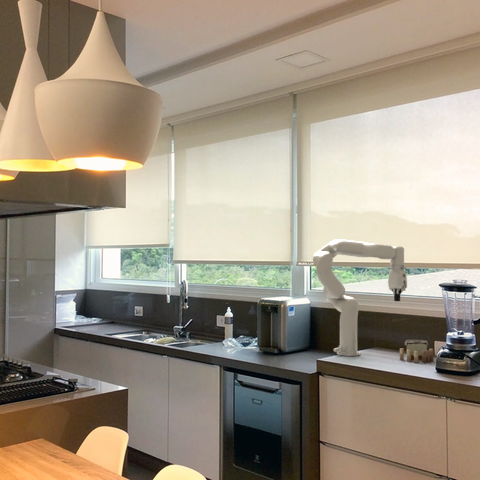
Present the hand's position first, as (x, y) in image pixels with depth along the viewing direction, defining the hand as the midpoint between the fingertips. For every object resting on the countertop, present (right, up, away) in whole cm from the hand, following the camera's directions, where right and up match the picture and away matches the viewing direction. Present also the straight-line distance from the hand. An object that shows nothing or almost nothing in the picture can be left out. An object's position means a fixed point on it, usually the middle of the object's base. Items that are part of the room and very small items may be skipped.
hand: (397, 301), depth 310 cm
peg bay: (+4, -28, -24) cm, 37 cm away
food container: (+3, -29, -20) cm, 35 cm away
